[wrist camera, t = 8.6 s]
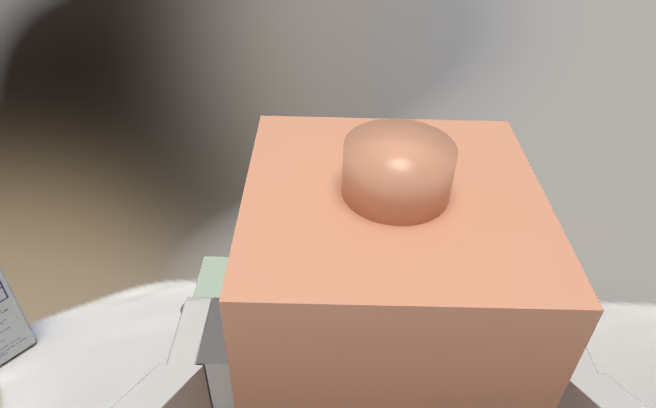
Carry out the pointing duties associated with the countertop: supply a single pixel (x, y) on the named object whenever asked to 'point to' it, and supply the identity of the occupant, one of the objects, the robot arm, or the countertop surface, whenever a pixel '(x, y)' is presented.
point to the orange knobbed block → (399, 270)
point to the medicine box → (12, 324)
